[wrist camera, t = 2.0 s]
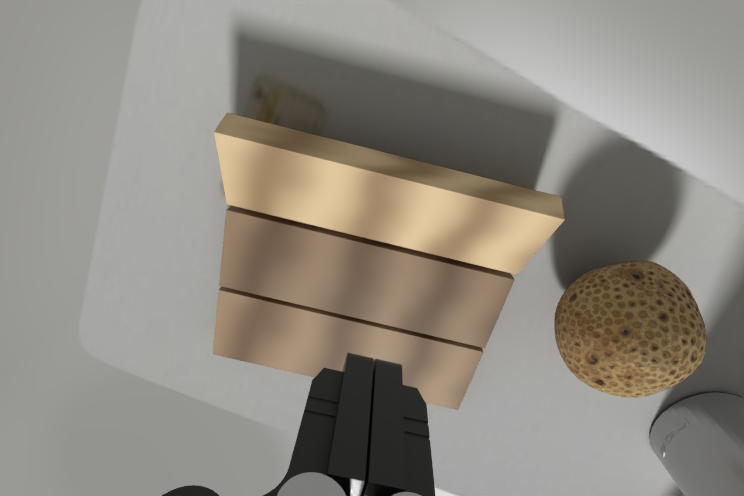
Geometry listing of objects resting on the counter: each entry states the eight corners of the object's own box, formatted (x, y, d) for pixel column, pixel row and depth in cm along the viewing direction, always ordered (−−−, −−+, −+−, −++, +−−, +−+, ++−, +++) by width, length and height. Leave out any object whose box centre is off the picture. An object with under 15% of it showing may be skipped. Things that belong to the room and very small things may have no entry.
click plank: (561, 196, 26) (565, 219, 25) (515, 253, 31) (516, 274, 30) (226, 112, 25) (214, 131, 24) (237, 185, 30) (227, 204, 29)
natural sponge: (593, 214, 30) (681, 274, 21) (675, 277, 31) (790, 359, 22) (509, 299, 33) (553, 384, 24) (587, 353, 35) (656, 451, 25)
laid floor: (507, 268, 32) (514, 279, 30) (455, 393, 37) (458, 409, 35) (236, 202, 31) (226, 210, 29) (222, 340, 36) (212, 354, 34)
